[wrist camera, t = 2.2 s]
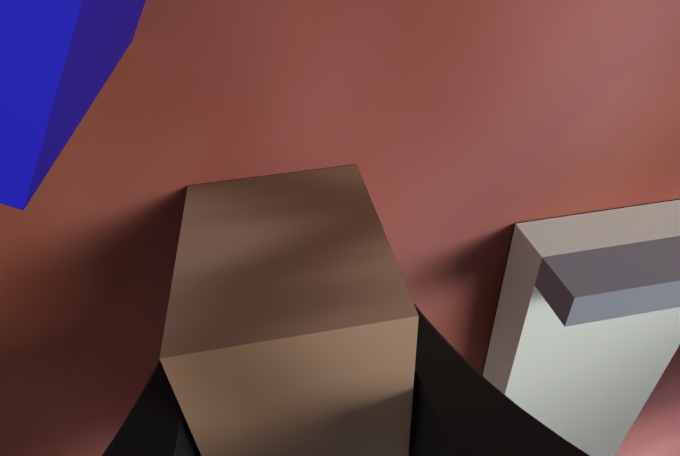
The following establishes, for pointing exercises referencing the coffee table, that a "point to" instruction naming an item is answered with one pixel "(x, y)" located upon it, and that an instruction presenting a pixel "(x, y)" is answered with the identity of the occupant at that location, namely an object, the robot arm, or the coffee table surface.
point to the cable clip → (52, 79)
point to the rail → (588, 320)
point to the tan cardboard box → (290, 320)
